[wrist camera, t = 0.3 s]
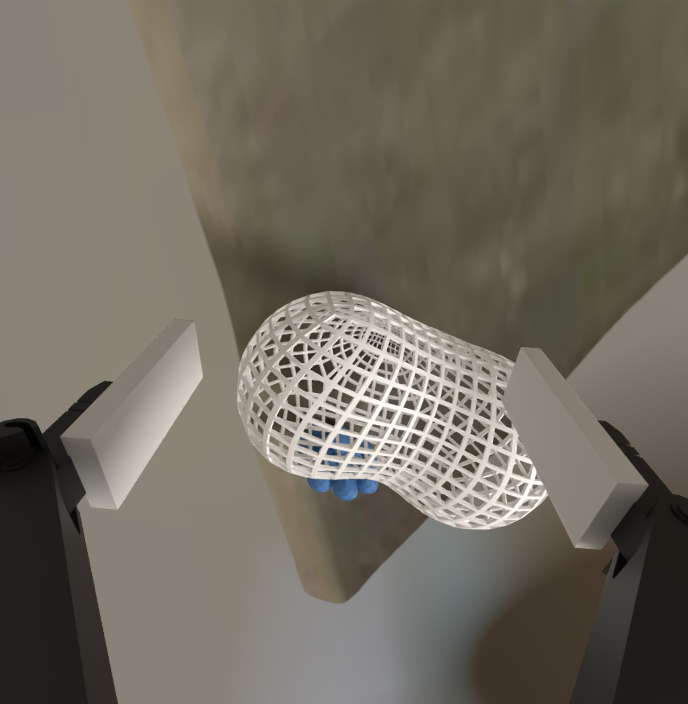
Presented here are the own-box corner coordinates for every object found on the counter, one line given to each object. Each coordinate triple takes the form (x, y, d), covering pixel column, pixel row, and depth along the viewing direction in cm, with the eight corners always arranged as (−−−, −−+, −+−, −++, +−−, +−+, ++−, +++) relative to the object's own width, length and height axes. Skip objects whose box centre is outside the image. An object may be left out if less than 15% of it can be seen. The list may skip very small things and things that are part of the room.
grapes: (385, 408, 51) (394, 476, 40) (376, 445, 54) (382, 517, 43) (299, 397, 50) (286, 463, 40) (295, 435, 53) (282, 506, 43)
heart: (521, 325, 44) (653, 464, 25) (451, 418, 51) (511, 584, 32) (302, 223, 39) (253, 299, 20) (256, 342, 46) (187, 485, 27)
